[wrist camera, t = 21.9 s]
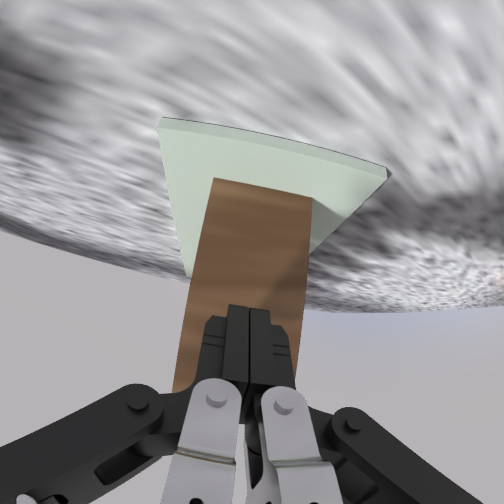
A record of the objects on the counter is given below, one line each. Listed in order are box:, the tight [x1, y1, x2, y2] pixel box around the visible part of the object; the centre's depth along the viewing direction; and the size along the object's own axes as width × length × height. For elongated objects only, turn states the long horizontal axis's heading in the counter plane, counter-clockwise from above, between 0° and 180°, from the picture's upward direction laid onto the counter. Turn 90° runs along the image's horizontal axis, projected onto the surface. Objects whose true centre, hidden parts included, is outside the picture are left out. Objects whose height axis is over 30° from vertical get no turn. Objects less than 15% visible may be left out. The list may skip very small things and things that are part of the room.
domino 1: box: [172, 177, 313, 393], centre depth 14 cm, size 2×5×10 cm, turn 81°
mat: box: [157, 118, 387, 278], centre depth 24 cm, size 26×10×1 cm, turn 171°
